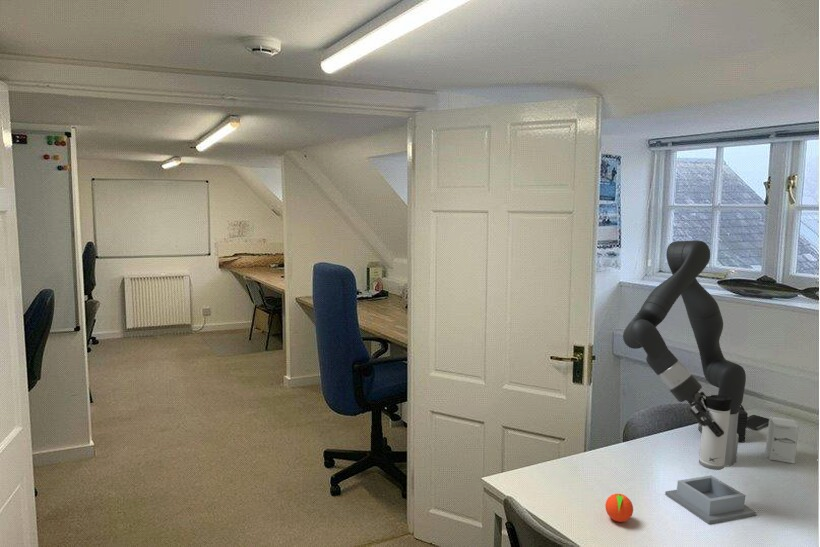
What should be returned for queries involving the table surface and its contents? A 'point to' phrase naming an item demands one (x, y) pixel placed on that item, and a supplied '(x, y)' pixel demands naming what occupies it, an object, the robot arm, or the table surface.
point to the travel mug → (710, 443)
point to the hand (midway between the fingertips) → (722, 431)
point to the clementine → (619, 507)
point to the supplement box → (782, 439)
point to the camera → (740, 426)
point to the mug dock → (710, 499)
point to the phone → (756, 422)
